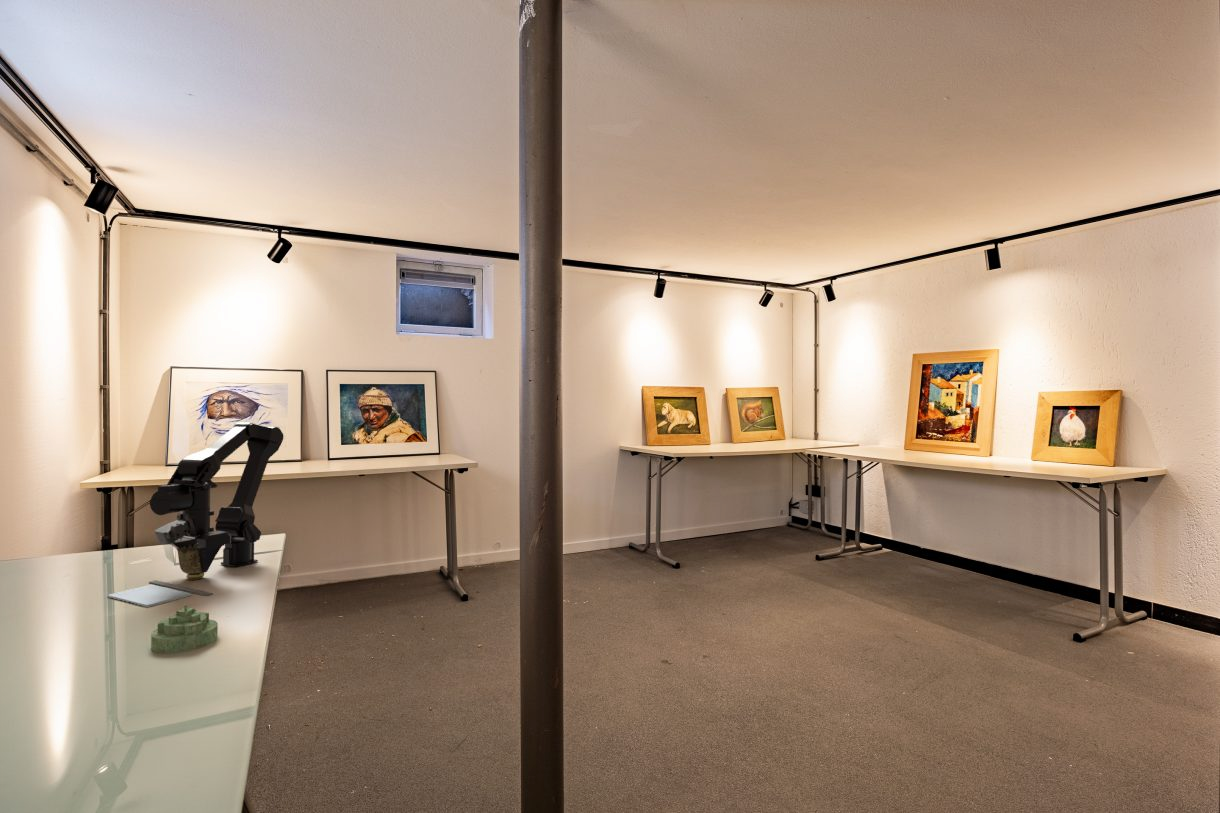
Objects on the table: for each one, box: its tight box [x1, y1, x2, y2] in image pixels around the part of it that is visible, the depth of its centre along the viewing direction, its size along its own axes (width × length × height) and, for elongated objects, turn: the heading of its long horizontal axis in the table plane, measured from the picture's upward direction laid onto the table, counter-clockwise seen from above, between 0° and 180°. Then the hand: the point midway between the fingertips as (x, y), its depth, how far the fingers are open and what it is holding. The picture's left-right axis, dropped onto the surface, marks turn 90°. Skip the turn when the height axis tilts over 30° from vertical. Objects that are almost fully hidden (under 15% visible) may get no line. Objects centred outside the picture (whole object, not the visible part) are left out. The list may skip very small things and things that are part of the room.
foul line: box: [148, 579, 214, 597], centre depth 142 cm, size 2×22×1 cm, turn 66°
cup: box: [176, 544, 205, 581], centre depth 150 cm, size 8×7×8 cm
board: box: [106, 583, 192, 608], centre depth 136 cm, size 9×15×1 cm, turn 66°
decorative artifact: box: [150, 603, 219, 654], centre depth 111 cm, size 10×7×10 cm
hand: (195, 570), depth 150 cm, fingers closed on cup, 7 cm apart
